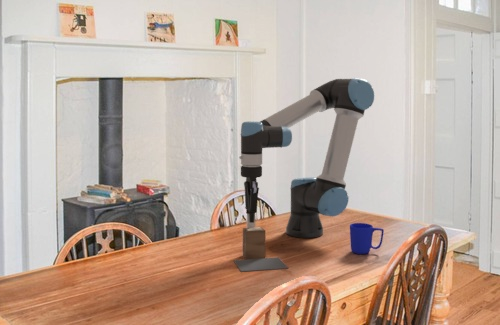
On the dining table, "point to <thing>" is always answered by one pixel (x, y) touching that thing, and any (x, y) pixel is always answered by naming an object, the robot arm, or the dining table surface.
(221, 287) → the dining table surface
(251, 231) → the walnut block
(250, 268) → the mat
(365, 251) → the mug
